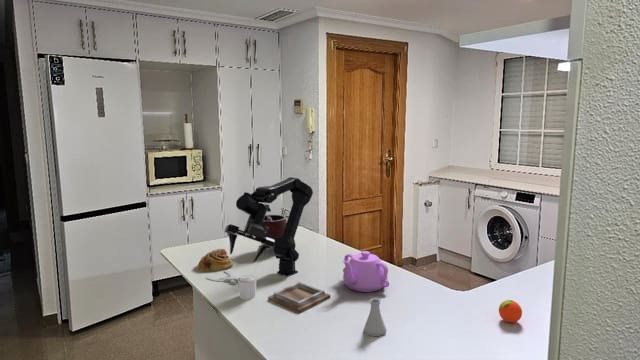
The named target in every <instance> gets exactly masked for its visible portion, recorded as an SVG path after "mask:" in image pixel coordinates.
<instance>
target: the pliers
mask: <svg viewBox="0 0 640 360" xmlns="http://www.w3.org/2000/svg"><path fill="white" fill-rule="evenodd" d="M223 273H225V274H227V275H226V278H223V277H220V278H219V277H218V278H212V277H208V276H205V277H206V280H209V281H213V282H217V283H218V282H220V283H221V282H223V283H224V282H226V283H229V284H231V285H234V286H235V285H237V283H238V278H239V277H236V276H235V277H234V275H233V273H232V272H230V271H227V270H224V271H223Z"/></svg>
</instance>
